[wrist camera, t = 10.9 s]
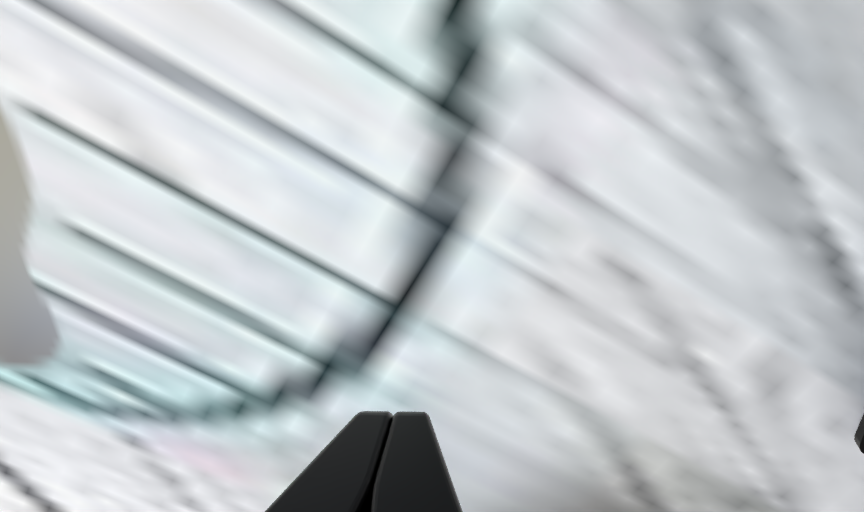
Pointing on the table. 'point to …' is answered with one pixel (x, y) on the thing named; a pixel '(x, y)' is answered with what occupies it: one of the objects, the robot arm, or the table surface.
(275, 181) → the table surface
